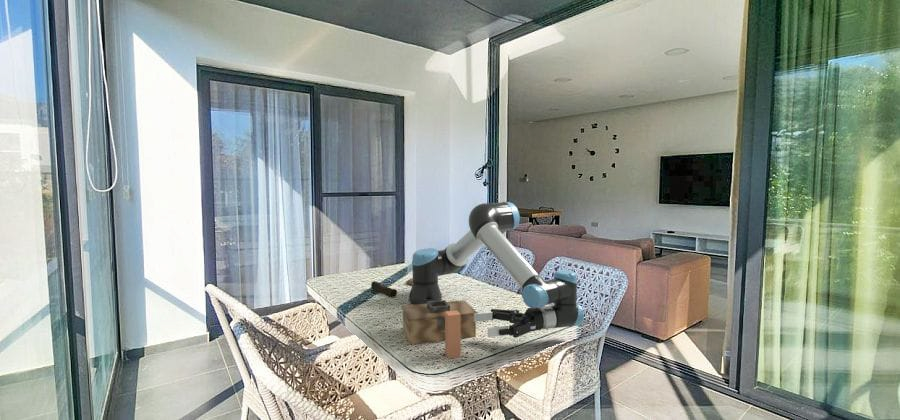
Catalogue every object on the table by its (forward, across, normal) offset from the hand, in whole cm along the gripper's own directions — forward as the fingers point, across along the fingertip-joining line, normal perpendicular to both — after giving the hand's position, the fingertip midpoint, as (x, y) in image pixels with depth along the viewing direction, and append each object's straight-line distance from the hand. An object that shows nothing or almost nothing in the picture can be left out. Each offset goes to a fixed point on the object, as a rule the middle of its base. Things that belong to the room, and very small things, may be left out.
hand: (480, 324), depth 133 cm
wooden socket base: (+10, +19, -9) cm, 23 cm away
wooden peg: (+10, 0, -9) cm, 13 cm away
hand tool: (+24, +75, -10) cm, 80 cm away
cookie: (+5, +88, -10) cm, 88 cm away
